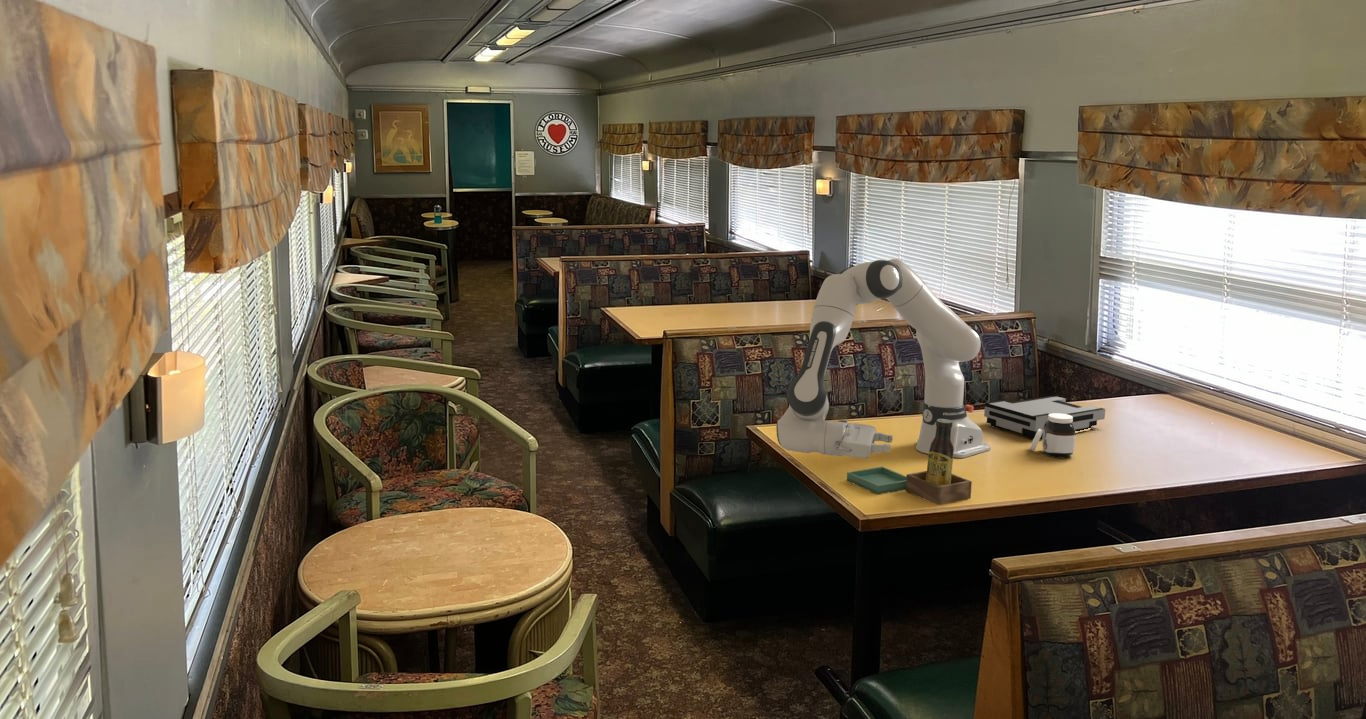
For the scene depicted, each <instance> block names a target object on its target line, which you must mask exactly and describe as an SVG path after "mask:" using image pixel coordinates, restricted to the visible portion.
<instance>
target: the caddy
mask: <svg viewBox="0 0 1366 719" xmlns="http://www.w3.org/2000/svg"><path fill="white" fill-rule="evenodd" d="M926 474H927V470H925V471H919V472H913V473H907V474H906V476H907V477H906V489H905V492H907V493H909V494H911V495H914V496H915V497H919V498H921V499H923V500H926V501H928V502H930V503H933V504H936V505H937V506H938V505H944V504H949V503H953V502H958V501H963V500H968V499H969V500H970V499H972V498H971V497H972V485H973V484H972V482H973V481H972V480H969V479H967V478H964V477H962V476H958V475H957V474H954V473H952V474H951V484H948V485H943V486H937V485H935V484H932V483H930V482H927V481H926Z"/></svg>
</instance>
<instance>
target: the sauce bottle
mask: <svg viewBox="0 0 1366 719" xmlns="http://www.w3.org/2000/svg"><path fill="white" fill-rule="evenodd" d="M952 424H953V422H952V421H951V420H948V419H937V421H936V426H937V427H936V434H935V438H934V440H933V441H932V443H931V446H930V450H929V454H927V455H928V457H927V467H926V471H927V474H926V481H927V482H930V483H932V484H935V485H937V486H943V485H948V484H951V474H953V473H952V472H953V471H952V470H953V463H954V457H953V451H954V447H953V444H952V442H951V439H950V438H951V428H952Z"/></svg>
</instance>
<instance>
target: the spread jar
mask: <svg viewBox="0 0 1366 719" xmlns="http://www.w3.org/2000/svg"><path fill="white" fill-rule="evenodd" d="M1072 422H1073V417H1072V416H1071V415H1067V414H1061V413H1052V414H1049V415H1048V421H1047V422H1046V423H1045V425H1044V428H1043V430H1041V429H1038V431H1037V433H1036V435H1035V437H1034V439H1032V441H1031V443H1030V446H1029V451H1032V452H1034V451H1035V450H1036V448H1037V447H1038V444H1039V442H1040V441H1041V447H1042V451H1043V453H1044V455H1046V456H1048V455H1049V457H1051V456H1054V457H1053V458H1057V457H1065V458H1069V457H1070V456H1073V454H1074V453H1075V452H1074V451H1075V447H1076V446H1075V445H1076V433H1075V429H1074V426H1073V424H1072ZM1042 433H1043V437H1042V440H1040V438H1041V435H1042ZM1068 456H1069V457H1068Z"/></svg>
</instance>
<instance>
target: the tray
mask: <svg viewBox="0 0 1366 719" xmlns="http://www.w3.org/2000/svg"><path fill="white" fill-rule="evenodd" d="M906 477H907V475H905V474H902V473H899V472H897V471H895V470H892V469H890V468H887V467H885V466H878V467H872V468H871V467H870V468H866V469H865V468H864V469H860V470H859V469H858V470H853V471H848V472H846V482H848V483H849V482H850V483H851V484H853V483H854V484H853V485H856V486H858V487H860V488H863V489H865V490H867V491H869V492H871V493H874V494H875V493H876V495H883V493H884V494H888V492H889V493H894V492H893V491H895V492H899V490H900V491H904V490H905V491H906Z"/></svg>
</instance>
